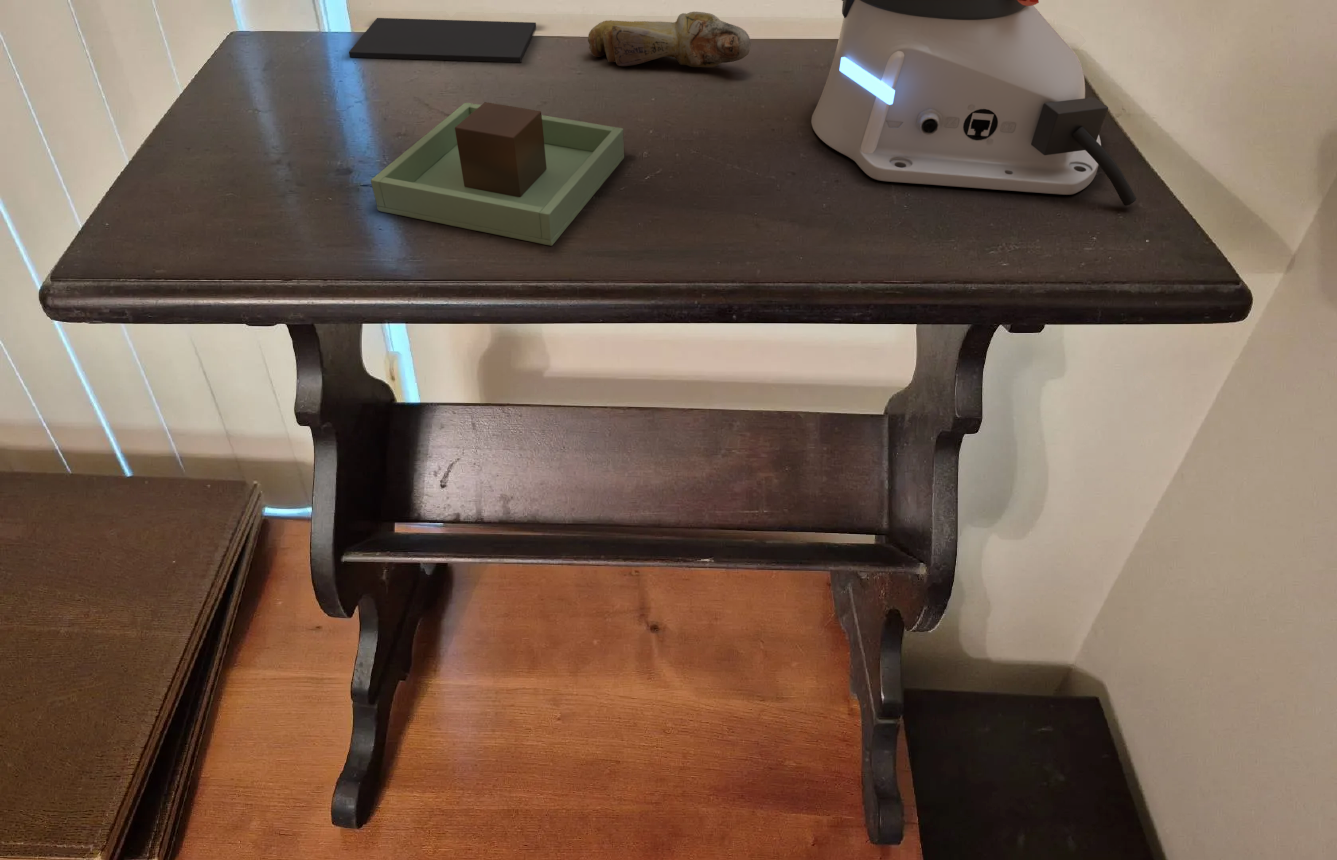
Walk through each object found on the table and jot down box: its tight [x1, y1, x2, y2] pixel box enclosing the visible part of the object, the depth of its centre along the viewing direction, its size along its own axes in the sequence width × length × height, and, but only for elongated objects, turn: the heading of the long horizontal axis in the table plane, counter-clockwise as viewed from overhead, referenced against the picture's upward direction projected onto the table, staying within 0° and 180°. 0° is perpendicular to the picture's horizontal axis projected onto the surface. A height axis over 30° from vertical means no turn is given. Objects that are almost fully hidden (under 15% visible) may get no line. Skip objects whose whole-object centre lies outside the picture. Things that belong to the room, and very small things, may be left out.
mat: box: [348, 17, 537, 63], centre depth 84 cm, size 16×9×1 cm, turn 87°
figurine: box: [587, 11, 752, 68], centre depth 79 cm, size 5×5×15 cm
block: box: [455, 101, 547, 197], centre depth 63 cm, size 4×4×4 cm
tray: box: [370, 102, 625, 247], centre depth 64 cm, size 13×13×2 cm
